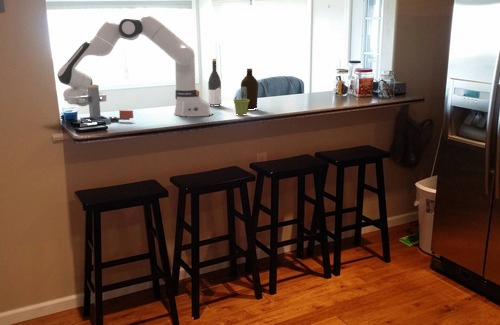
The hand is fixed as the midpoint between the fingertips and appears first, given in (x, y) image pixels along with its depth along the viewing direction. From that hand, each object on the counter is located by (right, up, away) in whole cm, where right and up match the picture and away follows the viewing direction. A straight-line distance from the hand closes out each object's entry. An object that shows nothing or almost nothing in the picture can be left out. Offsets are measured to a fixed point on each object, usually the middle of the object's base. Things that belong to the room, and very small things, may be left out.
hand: (93, 100), depth 253 cm
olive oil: (+80, 0, +50) cm, 95 cm away
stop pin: (0, -11, +3) cm, 11 cm away
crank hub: (+8, -10, +7) cm, 15 cm away
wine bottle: (+58, +5, +66) cm, 88 cm away
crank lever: (+12, -9, +7) cm, 17 cm away
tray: (0, -11, +3) cm, 12 cm away
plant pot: (+76, -5, +30) cm, 82 cm away
